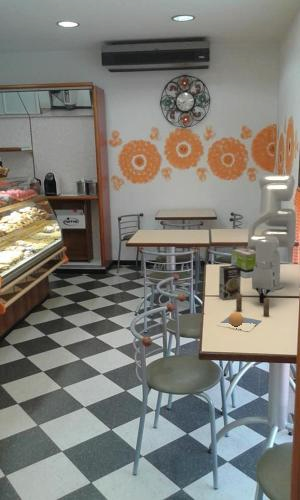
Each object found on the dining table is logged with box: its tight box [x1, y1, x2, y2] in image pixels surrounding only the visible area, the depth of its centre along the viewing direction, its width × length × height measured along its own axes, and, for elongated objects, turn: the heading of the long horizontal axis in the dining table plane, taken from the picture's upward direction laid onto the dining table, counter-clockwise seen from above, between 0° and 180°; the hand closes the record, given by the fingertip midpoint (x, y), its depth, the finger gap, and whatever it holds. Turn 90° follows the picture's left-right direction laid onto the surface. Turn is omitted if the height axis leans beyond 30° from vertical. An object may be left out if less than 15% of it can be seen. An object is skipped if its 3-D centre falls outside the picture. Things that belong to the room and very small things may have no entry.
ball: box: [228, 311, 244, 327], centre depth 177 cm, size 6×6×6 cm
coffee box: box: [218, 265, 242, 301], centre depth 213 cm, size 9×6×16 cm
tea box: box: [230, 248, 256, 279], centre depth 255 cm, size 15×10×15 cm
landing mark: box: [220, 316, 262, 330], centre depth 180 cm, size 14×14×1 cm
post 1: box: [235, 293, 243, 313], centre depth 194 cm, size 2×2×8 cm
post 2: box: [262, 297, 270, 318], centre depth 187 cm, size 2×2×8 cm
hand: (262, 302), depth 201 cm, fingers closed
